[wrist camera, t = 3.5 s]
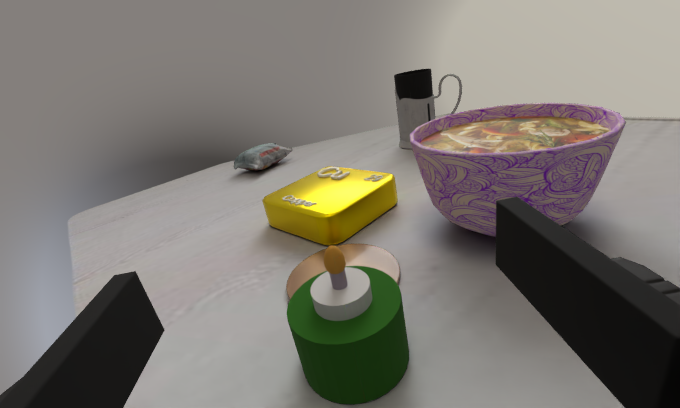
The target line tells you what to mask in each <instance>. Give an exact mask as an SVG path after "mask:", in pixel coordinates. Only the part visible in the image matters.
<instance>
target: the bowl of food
mask: <svg viewBox="0 0 680 408" xmlns="http://www.w3.org/2000/svg"><path fill="white" fill-rule="evenodd" d="M625 123H626V121H625V120H624V119H623V117H622V116H621V115H620V113H617V112H614V111H612V110H608V109H606V108H603V107H596V106H589V105H582V104H567V103H566V104H565V103H531V104H515V105H504V106H495V107H488V108H481V109H475V110H469V111H464V112H460V113H455V114H450V115H447V116H444V117H441V118H437V119H434V120H431V121H429V122H427V123H425V124H423V125H421V126H418V127H417V128H416V129H415V130H414V131H413V132H412V133H411V134H410V143H411V146H412V149H413V152H414V155H415V157H416V160H417V163H418V166H419V169H420V172H421V175H422V178H423V180H424V183H425V186H426V189H427V191H428V194H429V196H430V198H431V200H432V203H433V205H434V206H435V207H436V208H437V209H438V210H439V211H440V212H441V213H442V214H443V215H444V216H445V217H446V218H447V219H448V220H449V221H450V222H452V223H454V224H457V225H459V226H461V227H463V228H465V229H468V230H472V231H475V232H479V233H482V234H484V235H489V236H493V237H496V201H497V200H502V199H507V198H512V197H518V198H520V199H521V200H523V201H524V202H526V203H527V204H529V205H530V206H532V207H533V208H535V209H536V210H538V211H539V212H541V213H542V214H544V215H545V216H547V217H548V218H550V219H551V220H553V221H554V222H556V223H558V224H559V225H563V224H565V223H567V222H569V221H571V220H572V219H573V218H574V217H576V216H577V215H578V214H579V213H580V212H581V211H583V209H584V208H585V206H586V205H587V204H588V202H589V201H590V199H591V197H592V195H593V194H594V192H595V190H596V188H597V186H598V184H599V182H600V180H601V178H602V176H603V174H604V171H605V169H606V167H607V165H608V162H609V160H610V158H611V155H612V153H613V151H614V149H615V146H616V144H617V142H618V140H619V138H620V135H621V133H622V131H623V128H624V126H625Z"/></svg>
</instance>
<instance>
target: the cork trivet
mask: <svg viewBox="0 0 680 408" xmlns="http://www.w3.org/2000/svg"><path fill="white" fill-rule="evenodd" d="M336 247H338V248H339V249H340V250H341V252H342V253H343V255H344V257H345V261H346V266H366V267H371V268H375V269H378V270H381V271H383V272H385V273H386V274H388V275H389V276H391V277H392V278H393V279H394V280H395V281H396V283H397V285H398V283H399V280H400V267H399V264H398V262H397V260H396V258H395V257H394V256H393V255H392V254H391V253H389V252H388V251H386V250H384V249H382V248H380V247H376V246H373V245H367V244H345V245H339V246H336ZM325 251H326V249H324V250H322V251H319V252H317V253H315V254H313V255H311V256H309V257H308V258H306V259H305V260H303V261H302V262H301V263H300V264H299V265H298V266H297V267H296V268H295V269H294V270H293V271H292V273H291V274H290V276H289V279H288V281H287V293H288V297H289V299H291V297H292V296H293V294H294V293H295V292H296V290H297V289H298V288H299V287H300V286H301V285H302V284H304V283H305V282H306V281H308V280H309V279H311V278H312V277H314V276H316V275H318V274H320V273H323V272H325V271H327V270H326V268H325V265H324V254H325Z"/></svg>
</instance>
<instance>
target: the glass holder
mask: <svg viewBox="0 0 680 408" xmlns="http://www.w3.org/2000/svg"><path fill="white" fill-rule="evenodd" d="M447 76H454V77H455V78H457V79H458V81H459V86H460V89H459V98H458V102H457V104H456V106H455V108H454V110H453V111H452V113H451V114H453V113H454V112H455V111H456V109H457V107H458V105H459V102H460V99H461V94H462V84H461V80H460V78H459V77H458V76H456V75H454V74H448V75H445V76H444V77H443V78H442V79H441V81H440V83H439V95H438V96H435V97H434V95H433V92H432V77H431V69H421V70H415V71H409V72H404V73H400V74H396V75H395V76H394V78H395V95H396V104H397V112H398V122H399V131H400V143H399V147H401V148H405V149H412V146H411V143H410V134H411V133H412V132H413V131H414V130H415V129H416V128H417V127H418V126H421V125H423V124H425V123H427V122H429V121H431V120H434V119H435V109H434V98H438V97H439V96H440V95H441V84H442V81H443V80H444V78H446V77H447Z"/></svg>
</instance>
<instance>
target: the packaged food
mask: <svg viewBox="0 0 680 408" xmlns="http://www.w3.org/2000/svg"><path fill="white" fill-rule="evenodd" d="M291 151H292V148H284V147H281V146H278V145H276V144H275V143H270V144H263V145H259V146H256V147H253V148H252V149H249V150H247V151H245V152H244V153H241V154H240V155H239V156H238V157H237V158H236V159H235V162H234V169H237V168H242V169H246V170H263V169H265V168H267V167H270V166H272V165H273V164H275V163H277V162H279V161H280V160H282V159H283V158H285V157H286V156H287V155H288V154H289V153H290V152H291Z"/></svg>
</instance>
